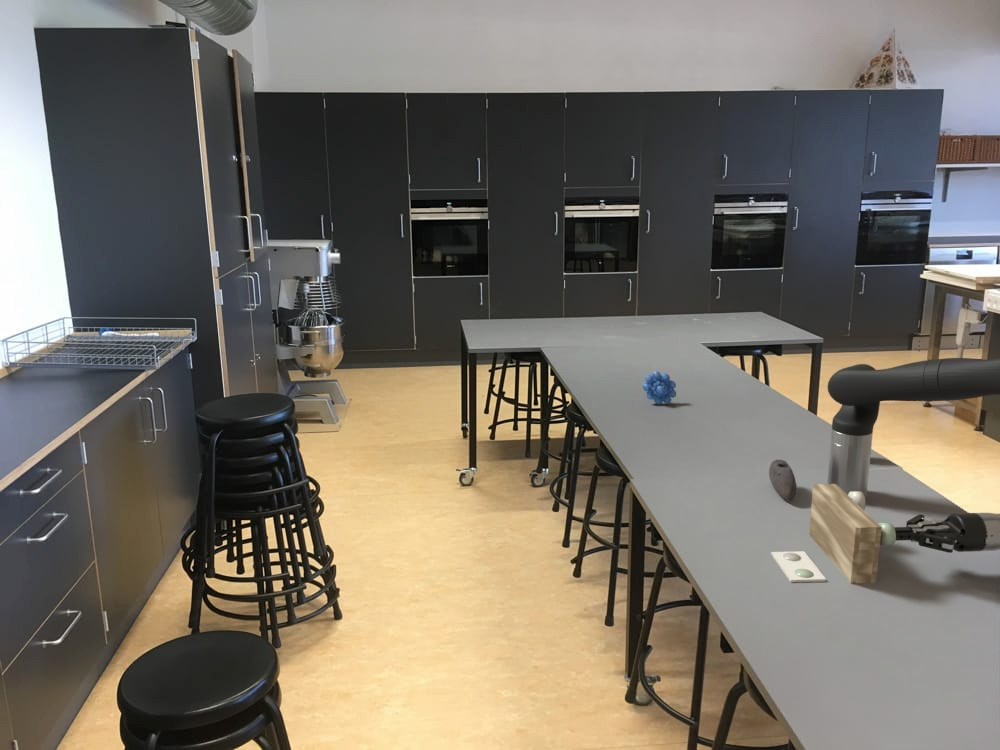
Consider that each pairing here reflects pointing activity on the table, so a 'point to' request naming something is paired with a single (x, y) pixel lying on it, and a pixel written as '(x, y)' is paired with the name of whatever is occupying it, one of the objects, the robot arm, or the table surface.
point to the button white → (858, 498)
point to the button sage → (887, 534)
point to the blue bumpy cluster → (659, 388)
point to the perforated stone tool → (783, 479)
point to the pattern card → (798, 567)
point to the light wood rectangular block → (845, 533)
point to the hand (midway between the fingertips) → (890, 534)
